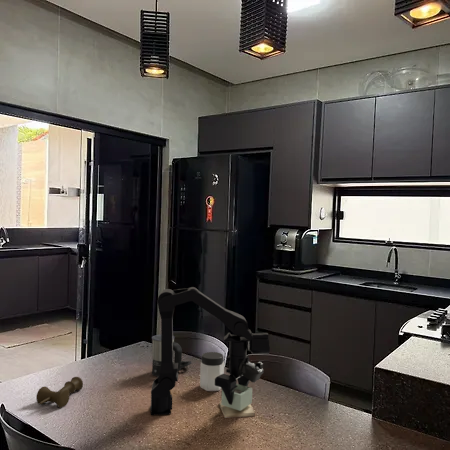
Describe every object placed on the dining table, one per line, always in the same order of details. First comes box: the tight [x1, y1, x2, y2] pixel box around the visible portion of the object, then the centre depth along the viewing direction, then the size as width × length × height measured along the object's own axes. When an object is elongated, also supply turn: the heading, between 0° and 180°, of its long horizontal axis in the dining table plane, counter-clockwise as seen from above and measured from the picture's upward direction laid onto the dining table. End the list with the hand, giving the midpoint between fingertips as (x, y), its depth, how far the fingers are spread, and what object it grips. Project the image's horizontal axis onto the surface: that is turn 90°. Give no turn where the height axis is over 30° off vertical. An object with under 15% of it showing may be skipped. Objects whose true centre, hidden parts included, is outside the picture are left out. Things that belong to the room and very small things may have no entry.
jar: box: [199, 351, 225, 392], centre depth 162 cm, size 9×8×12 cm
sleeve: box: [220, 383, 253, 411], centre depth 143 cm, size 7×7×5 cm
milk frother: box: [151, 334, 193, 377], centre depth 177 cm, size 14×16×15 cm
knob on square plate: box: [218, 390, 256, 419], centre depth 143 cm, size 10×10×6 cm
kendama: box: [36, 376, 84, 409], centre depth 148 cm, size 6×10×20 cm
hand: (236, 400), depth 143 cm, fingers closed on sleeve, 7 cm apart
